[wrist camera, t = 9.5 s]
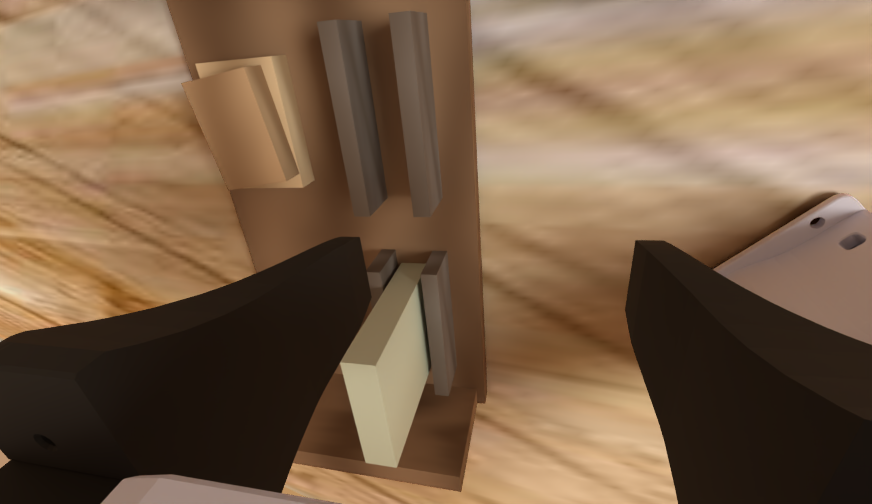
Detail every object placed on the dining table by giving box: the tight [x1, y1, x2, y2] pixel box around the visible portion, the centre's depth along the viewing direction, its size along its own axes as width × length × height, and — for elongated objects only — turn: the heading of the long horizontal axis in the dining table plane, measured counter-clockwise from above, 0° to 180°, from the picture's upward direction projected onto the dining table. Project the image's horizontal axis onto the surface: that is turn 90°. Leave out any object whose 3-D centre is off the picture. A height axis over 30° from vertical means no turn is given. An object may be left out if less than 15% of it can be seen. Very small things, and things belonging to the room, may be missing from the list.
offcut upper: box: [181, 65, 300, 190], centre depth 19 cm, size 3×5×1 cm
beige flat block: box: [340, 263, 432, 468], centre depth 21 cm, size 2×6×8 cm, turn 5°
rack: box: [166, 0, 487, 492], centre depth 20 cm, size 14×26×7 cm, turn 5°
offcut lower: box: [195, 55, 315, 188], centre depth 20 cm, size 4×6×1 cm, turn 5°
